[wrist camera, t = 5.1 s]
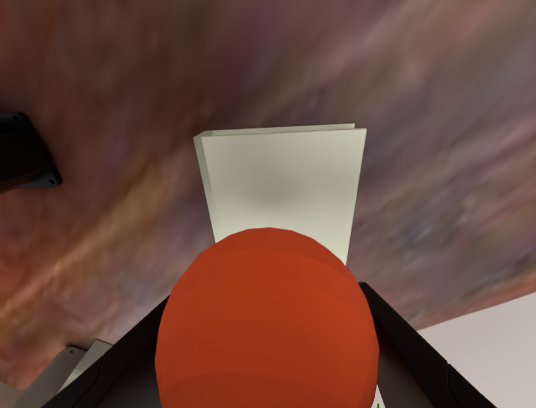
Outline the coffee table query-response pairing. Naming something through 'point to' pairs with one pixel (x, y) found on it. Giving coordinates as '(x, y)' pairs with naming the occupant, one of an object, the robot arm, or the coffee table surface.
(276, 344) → the clementine
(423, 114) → the coffee table surface
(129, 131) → the coffee table surface
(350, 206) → the book
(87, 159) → the coffee table surface
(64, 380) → the digital clock
